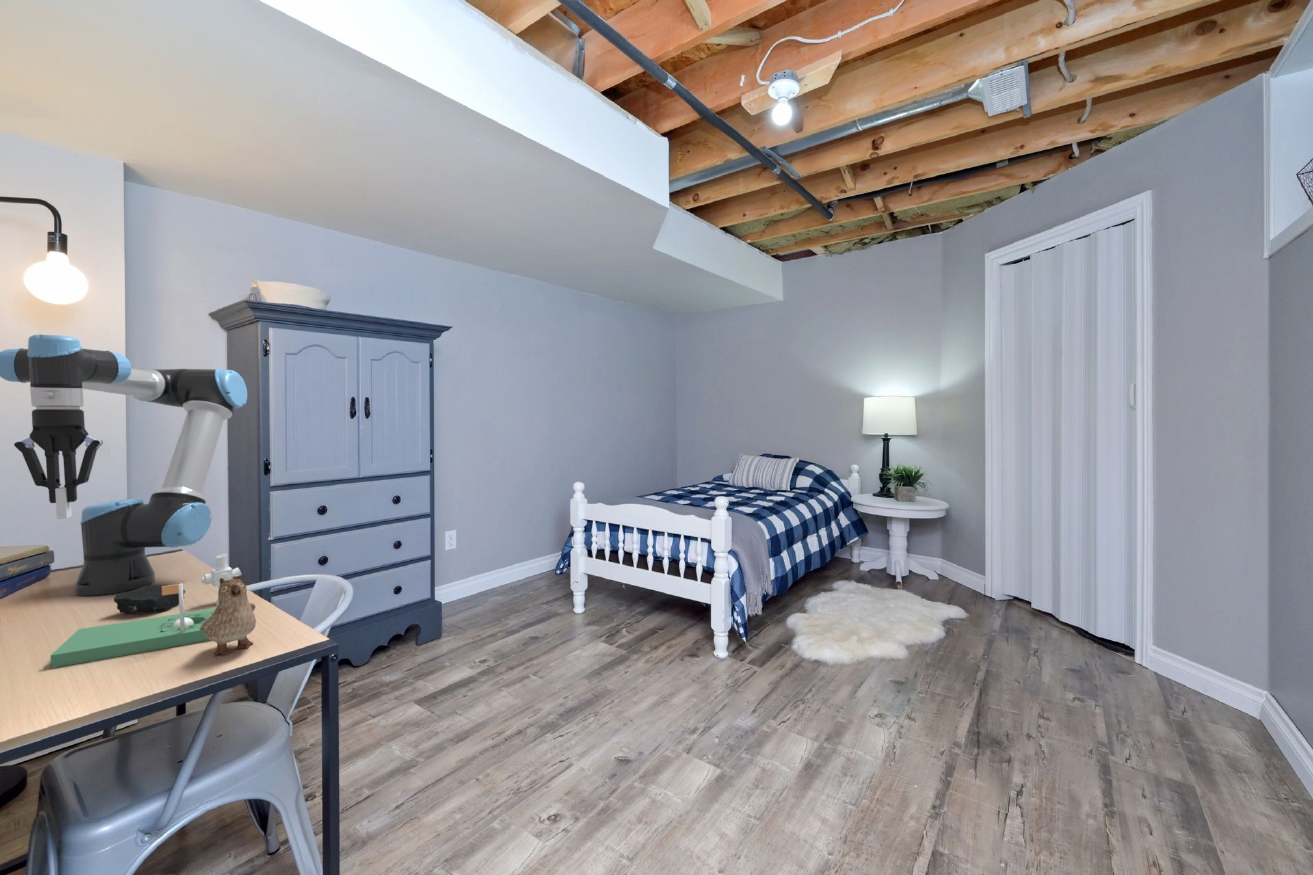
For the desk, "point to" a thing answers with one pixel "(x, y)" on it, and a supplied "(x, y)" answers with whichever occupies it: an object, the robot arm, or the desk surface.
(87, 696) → the desk surface
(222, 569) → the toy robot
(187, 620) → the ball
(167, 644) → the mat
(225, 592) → the figurine
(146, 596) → the rock
